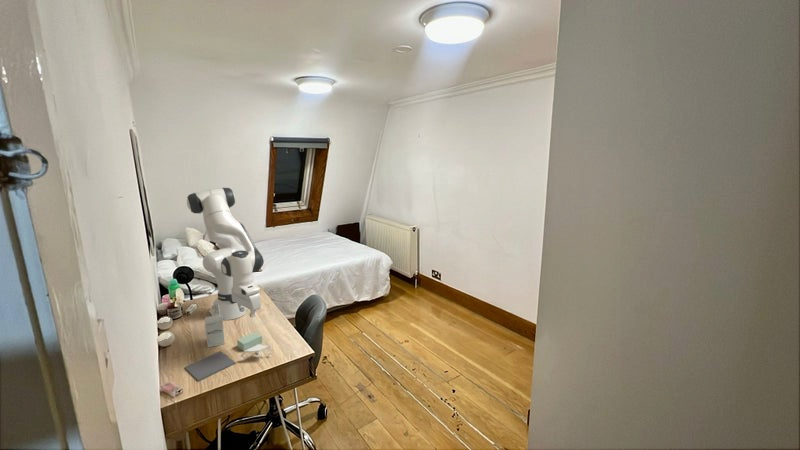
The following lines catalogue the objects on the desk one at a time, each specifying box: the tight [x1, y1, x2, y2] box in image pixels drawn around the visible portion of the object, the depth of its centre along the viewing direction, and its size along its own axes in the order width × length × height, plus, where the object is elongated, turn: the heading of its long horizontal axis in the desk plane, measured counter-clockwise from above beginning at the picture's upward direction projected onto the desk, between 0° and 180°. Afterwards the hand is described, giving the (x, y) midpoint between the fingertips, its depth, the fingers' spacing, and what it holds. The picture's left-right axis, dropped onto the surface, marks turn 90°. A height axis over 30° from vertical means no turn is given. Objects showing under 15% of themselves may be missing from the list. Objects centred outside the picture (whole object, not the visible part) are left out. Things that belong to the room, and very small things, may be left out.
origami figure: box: [240, 344, 272, 361], centre depth 151 cm, size 12×8×5 cm
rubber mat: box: [184, 350, 237, 382], centre depth 145 cm, size 14×15×1 cm
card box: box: [236, 331, 263, 352], centre depth 161 cm, size 6×9×4 cm, turn 142°
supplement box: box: [204, 314, 226, 349], centre depth 162 cm, size 7×7×13 cm
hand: (247, 314), depth 158 cm, fingers open, 8 cm apart
